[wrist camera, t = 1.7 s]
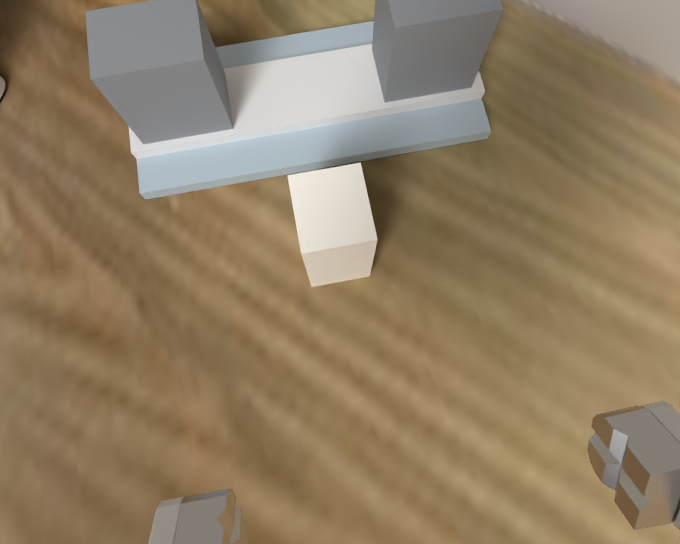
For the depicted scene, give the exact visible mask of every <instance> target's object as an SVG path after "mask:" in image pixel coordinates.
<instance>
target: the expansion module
mask: <svg viewBox="0 0 680 544" xmlns="http://www.w3.org/2000/svg"><path fill="white" fill-rule="evenodd" d="M288 181H289V187H290V193H291V198H292V204H293V210H294V215H295V221H296V227H297V232H298V238H299V244H300V249H301V254H302V258H303V261H304V264H305V267H306V270H307V274H308V277H309V280H310V283H311V286H312V287H315V286H320V285H325V284H331V283H336V282H342V281H347V280H352V279H358V278H363V277H368V276H370V273H371V268H372V263H373V259H374V254H375V249H376V245H377V240H378V239H377V235H376V230H375V226H374V221H373V217H372V212H371V207H370V203H369V198H368V194H367V189H366V185H365V180H364V175H363V171H362V166H361V163H356V164H350V165H344V166H339V167H333V168H328V169H322V170H316V171H311V172H305V173H299V174H294V175H288Z"/></svg>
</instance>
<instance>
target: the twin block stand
mask: <svg viewBox="0 0 680 544" xmlns="http://www.w3.org/2000/svg"><path fill="white" fill-rule="evenodd" d="M503 10H504V9H503V6H502V3H501V0H376V2H375V15H374V21H370V22H364V23H358V24H352V25H346V26H340V27H334V28H328V29H322V30H316V31H310V32H304V33H298V34H292V35H286V36H280V37H274V38H268V39H262V40H256V41H250V42H244V43H238V44H232V45H226V46H220V47H215V46H214V43H213V40H212V38H211V35H210V32H209V30H208V27H207V24H206V22H205V19H204V16H203V14H202V11H201V8H200V6H199V3H198V0H153V1H147V2H140V3H134V4H128V5H122V6H116V7H110V8H104V9H97V10H91V11H86V25H87V39H88V53H89V68H90V79H91V80H92V81H93V83H94V84H95V85H96V86H97V88H98V89H99V90H100V91H101V93H102V94H103V95H104V96H105V98H106V99H107V100H108V101H109V102H110V104H111V105H112V106H113V107H114V109H115V110H116V111H117V112H118V114H119V115H120V116H121V117H122V119H123V120H124V121H125V122H126V123H127V125H128V126H129V135H130V146H131V153H132V154H133V155H134V156H135V157H136V159H137V169H138V179H139V190H140V194H141V195H142V196H143V197H144V198H145V199H152V198H157V197H163V196H168V195H174V194H180V193H185V192H191V191H197V190H202V189H208V188H213V187H219V186H225V185H230V184H236V183H242V182H247V181H253V180H258V179H264V178H270V177H275V176H281V175H287V174H292V173H298V172H303V171H309V170H315V169H320V168H326V167H332V166H337V165H343V164H348V163H354V162H360V161H365V160H371V159H377V158H382V157H388V156H393V155H399V154H405V153H410V152H416V151H422V150H427V149H433V148H438V147H444V146H450V145H455V144H461V143H467V142H472V141H478V140H483V139H487V138H488V136H489V134H490V133H491V128H490V125H489V121H488V118H487V115H486V111H485V108H484V105H483V101H482V97H483V95H484V92H485V89H484V85H483V82H482V79H481V75H480V72H479V68H480V65H481V63H482V61H483V58H484V56H485V53H486V51H487V48H488V46H489V44H490V41H491V39H492V36H493V34H494V32H495V29H496V27H497V24H498V22H499V20H500V17H501V15H502V12H503Z"/></svg>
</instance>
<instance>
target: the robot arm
mask: <svg viewBox="0 0 680 544" xmlns="http://www.w3.org/2000/svg"><path fill="white" fill-rule="evenodd" d="M4 90H5V81H4V79H3V78H2V77H1V76H0V98H1V96H2V95H3V92H4ZM592 428H593V429H594V430H595V432H596V433H595V434H594V435H593V436H592V437H591V438H590V439H589V444H588V453H589V458H590V462H591V464H592V467H593V469H594V471H595V473H596V474H597V476H598V477H599V479H600V480H601V482H602V483H603V484H605V485H607V486H609V487H610V488H612V489H614V490H615V503H616V504H617V505H618V507H619V508H620V510H621V511H622V513H623V514H624V516H625V517H626V519H627V520H628V521H629V523H630V524H631V526H632V527H633V529H634V530H637V529H642V528H648V527H654V526H659V525H665V524H670V523H674V526H676V527H677V528H679V529H680V414H679V413H678V412H677V411H676V410H675V409H674V408H673V407H672V406H671V405H670V404H668V403H667V402H665V401H661V402H655V403H651V404H646V405H642V406H633V407H629V408H624V409H619V410H615V411H610V412H606V413H601V414H597V415H596V416H595V417H594V418H593V421H592ZM235 506H236V496H235V494H234V492H233V490H232V489H226V490H220V491H215V492H209V493H203V494H198V495H192V496H186V497H180V498H175V499H170V500H165V501H161V502H160V504H159V506H158V508H157V509H156V513H155V517H154V522H153V526H152V530H151V535H150V539H149V543H148V544H247V531H246V524H245V520H244V516H243V513H242V511H241V510H240V509H238V508H236V507H235Z"/></svg>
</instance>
